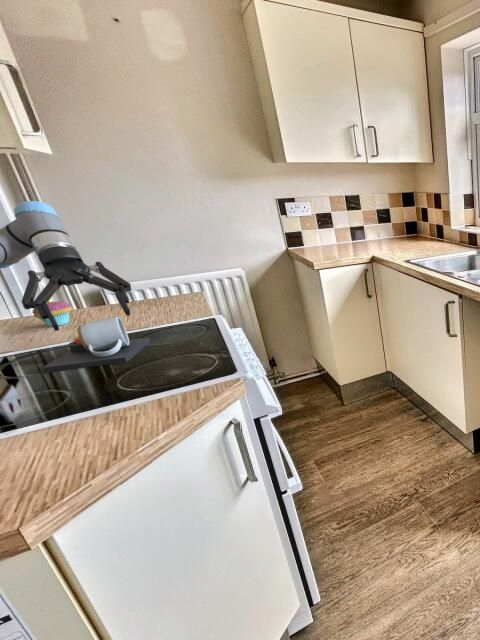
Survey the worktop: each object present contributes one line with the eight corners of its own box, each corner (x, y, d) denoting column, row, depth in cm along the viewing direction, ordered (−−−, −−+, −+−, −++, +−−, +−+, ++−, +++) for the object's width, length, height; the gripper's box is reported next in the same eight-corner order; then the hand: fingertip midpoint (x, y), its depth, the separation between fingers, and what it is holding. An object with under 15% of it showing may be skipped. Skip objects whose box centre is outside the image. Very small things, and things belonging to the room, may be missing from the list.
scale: (44, 373, 99) (39, 361, 98) (80, 349, 112) (75, 338, 111) (127, 362, 104) (122, 351, 103) (152, 340, 117) (148, 330, 116)
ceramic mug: (88, 347, 109) (77, 319, 106) (130, 339, 114) (119, 313, 111) (85, 361, 102) (72, 332, 99) (129, 352, 106) (118, 324, 103)
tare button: (73, 345, 108) (71, 339, 107) (80, 341, 111) (78, 335, 110) (88, 343, 109) (86, 338, 108) (94, 339, 111) (92, 334, 111)
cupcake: (41, 324, 132) (23, 286, 127) (78, 317, 137) (62, 281, 132) (38, 331, 126) (19, 292, 121) (77, 323, 131) (60, 286, 126)
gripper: (121, 255, 121) (154, 314, 118) (-11, 272, 103) (25, 342, 100) (118, 238, 116) (153, 299, 113) (-20, 252, 98) (17, 326, 95)
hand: (93, 320), depth 106 cm, fingers open, 13 cm apart
